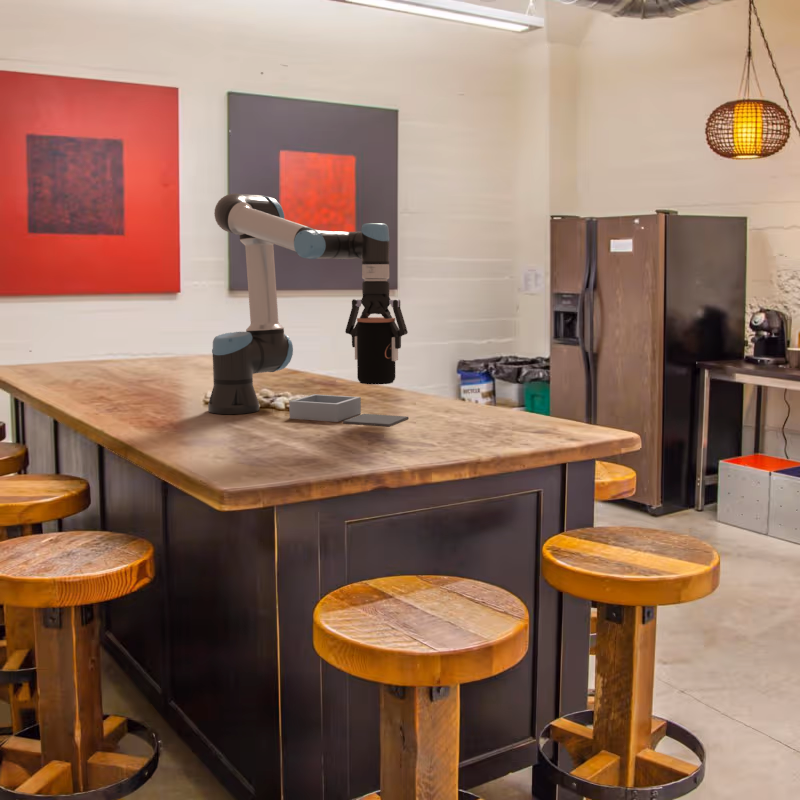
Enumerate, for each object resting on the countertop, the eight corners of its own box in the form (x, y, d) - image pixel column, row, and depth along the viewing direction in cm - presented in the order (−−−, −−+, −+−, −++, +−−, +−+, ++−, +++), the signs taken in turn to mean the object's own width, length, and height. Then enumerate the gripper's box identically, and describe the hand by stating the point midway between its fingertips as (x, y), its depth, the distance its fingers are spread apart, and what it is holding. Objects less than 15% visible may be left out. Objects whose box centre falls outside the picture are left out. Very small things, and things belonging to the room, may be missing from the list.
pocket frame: (289, 418, 263) (289, 401, 263) (314, 410, 278) (314, 394, 277) (337, 421, 258) (337, 404, 257) (360, 413, 272) (360, 397, 271)
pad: (343, 423, 256) (343, 421, 255) (364, 415, 268) (364, 413, 268) (389, 426, 250) (389, 424, 250) (408, 418, 263) (408, 416, 263)
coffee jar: (391, 385, 251) (390, 319, 249) (353, 384, 253) (352, 319, 251) (398, 380, 262) (398, 317, 259) (362, 379, 264) (362, 317, 261)
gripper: (332, 280, 255) (333, 359, 258) (409, 280, 246) (409, 362, 249) (344, 280, 261) (345, 357, 265) (419, 280, 253) (419, 360, 256)
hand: (376, 359), depth 257 cm, fingers closed on coffee jar, 11 cm apart
